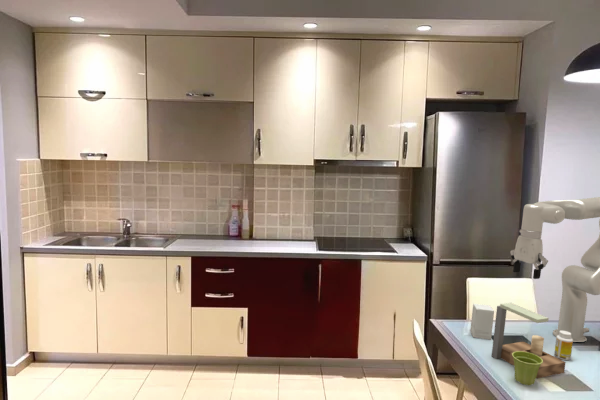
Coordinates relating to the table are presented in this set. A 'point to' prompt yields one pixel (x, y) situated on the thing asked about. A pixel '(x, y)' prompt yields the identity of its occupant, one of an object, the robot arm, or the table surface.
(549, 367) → the socket block
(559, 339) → the supplement bottle
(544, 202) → the robot arm
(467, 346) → the table surface
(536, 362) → the plant pot
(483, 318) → the supplement box
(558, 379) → the table surface
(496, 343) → the awning
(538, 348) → the peg
